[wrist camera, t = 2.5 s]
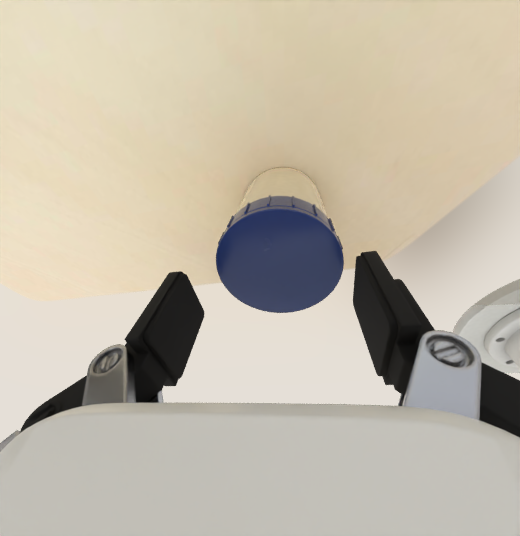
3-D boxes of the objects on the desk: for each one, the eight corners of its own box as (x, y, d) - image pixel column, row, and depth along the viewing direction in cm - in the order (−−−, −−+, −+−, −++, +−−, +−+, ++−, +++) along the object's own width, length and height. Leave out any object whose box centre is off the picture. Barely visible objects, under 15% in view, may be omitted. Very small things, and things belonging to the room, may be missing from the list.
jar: (318, 160, 17) (340, 198, 10) (321, 236, 21) (338, 302, 14) (236, 174, 18) (204, 217, 11) (252, 244, 22) (236, 308, 15)
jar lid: (338, 183, 11) (347, 196, 10) (337, 289, 15) (342, 310, 14) (207, 204, 12) (196, 218, 11) (238, 296, 16) (233, 316, 15)
